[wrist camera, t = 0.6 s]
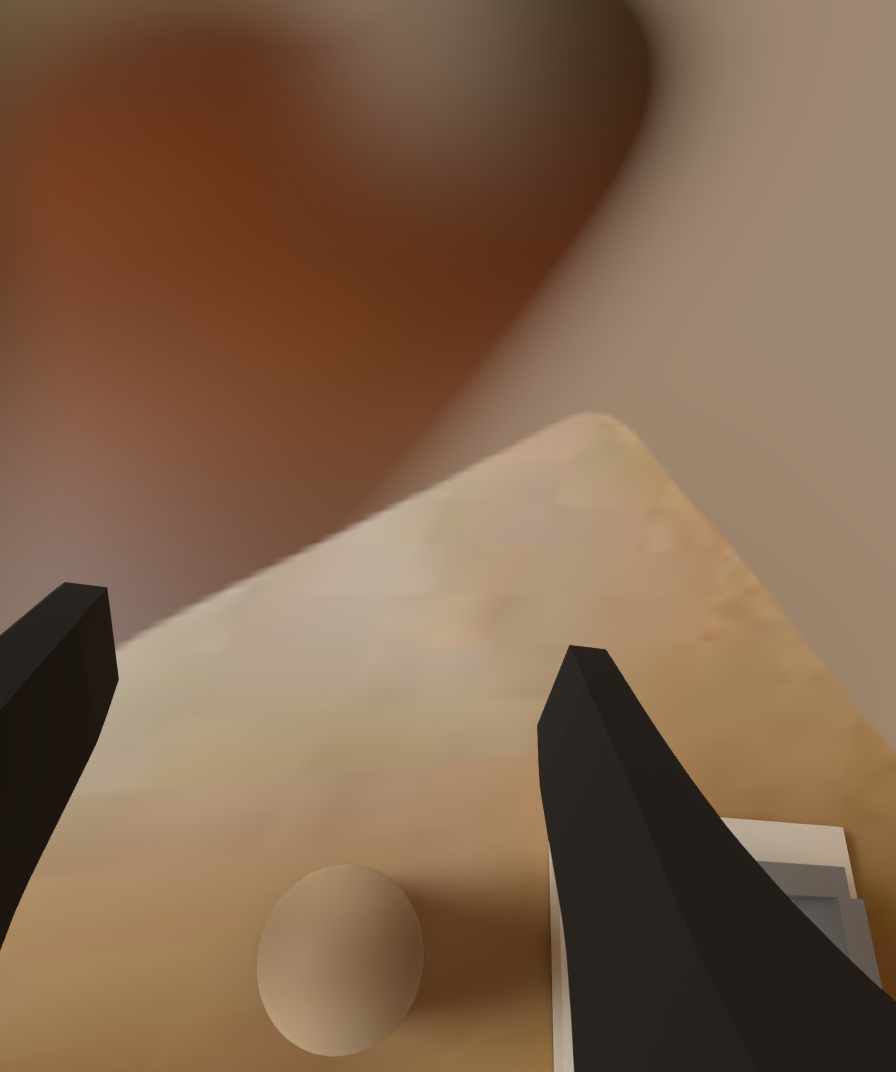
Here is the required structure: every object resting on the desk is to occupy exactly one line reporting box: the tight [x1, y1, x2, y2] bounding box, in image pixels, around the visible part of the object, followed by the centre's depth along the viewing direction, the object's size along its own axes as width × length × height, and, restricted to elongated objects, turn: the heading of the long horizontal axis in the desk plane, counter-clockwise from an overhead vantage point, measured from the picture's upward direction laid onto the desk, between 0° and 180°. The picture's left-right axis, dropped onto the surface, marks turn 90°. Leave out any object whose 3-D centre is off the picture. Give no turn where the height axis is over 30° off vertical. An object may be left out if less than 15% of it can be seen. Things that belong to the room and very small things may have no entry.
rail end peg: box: [257, 864, 424, 1057], centre depth 21 cm, size 4×4×8 cm
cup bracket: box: [549, 817, 882, 1072], centre depth 25 cm, size 12×12×4 cm
